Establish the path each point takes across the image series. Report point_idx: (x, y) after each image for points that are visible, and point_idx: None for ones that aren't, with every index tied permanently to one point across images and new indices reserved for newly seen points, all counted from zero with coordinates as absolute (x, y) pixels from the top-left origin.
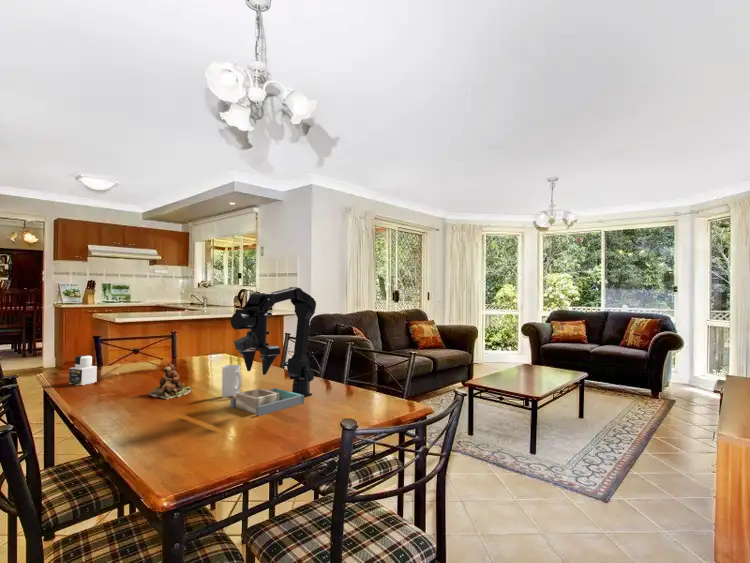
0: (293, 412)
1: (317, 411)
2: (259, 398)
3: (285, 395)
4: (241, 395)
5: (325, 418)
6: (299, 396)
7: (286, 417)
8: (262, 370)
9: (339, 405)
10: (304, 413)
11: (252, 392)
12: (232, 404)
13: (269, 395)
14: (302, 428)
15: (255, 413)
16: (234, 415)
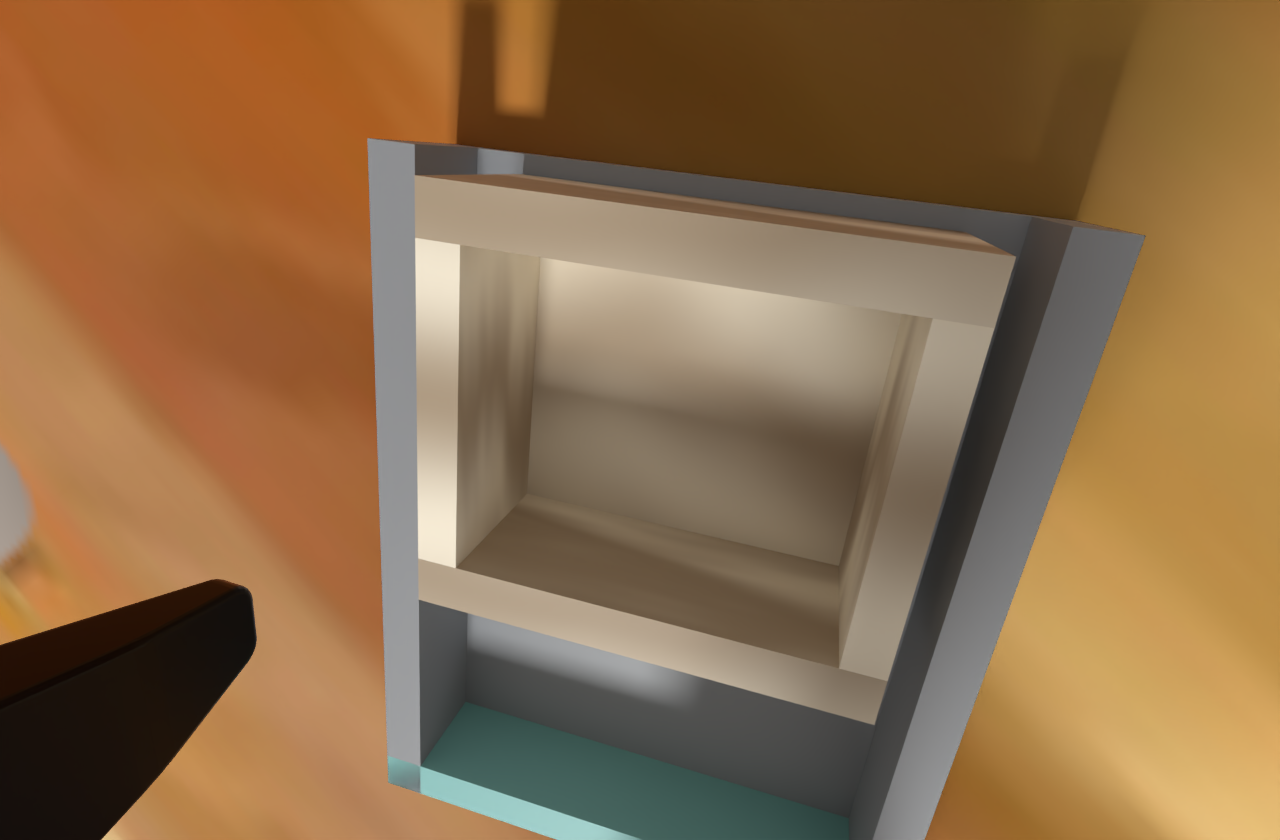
0: (379, 509)
1: (263, 614)
2: (418, 247)
3: (654, 802)
4: (827, 229)
5: (97, 489)
6: (388, 730)
7: (312, 354)
8: (123, 641)
9: (266, 798)
10: (292, 526)
11: (866, 543)
12: (1046, 221)
13: (424, 445)
14: (6, 182)
15: (523, 175)
16: (823, 69)
